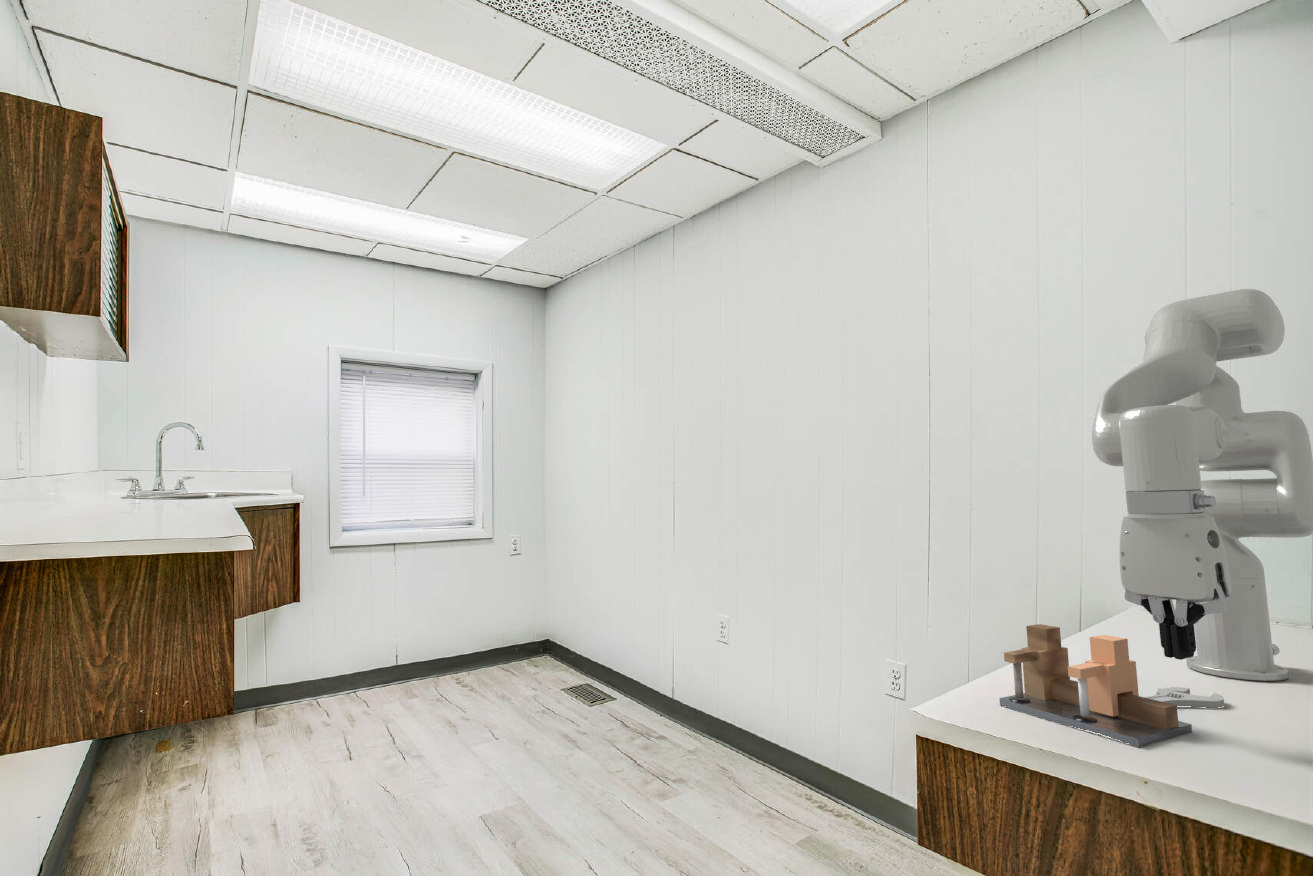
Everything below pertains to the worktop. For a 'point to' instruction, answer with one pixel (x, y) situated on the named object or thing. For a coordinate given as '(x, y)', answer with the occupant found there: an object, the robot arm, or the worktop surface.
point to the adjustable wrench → (1187, 698)
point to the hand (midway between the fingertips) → (1179, 656)
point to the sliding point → (1105, 675)
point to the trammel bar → (1051, 680)
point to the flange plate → (1095, 721)
